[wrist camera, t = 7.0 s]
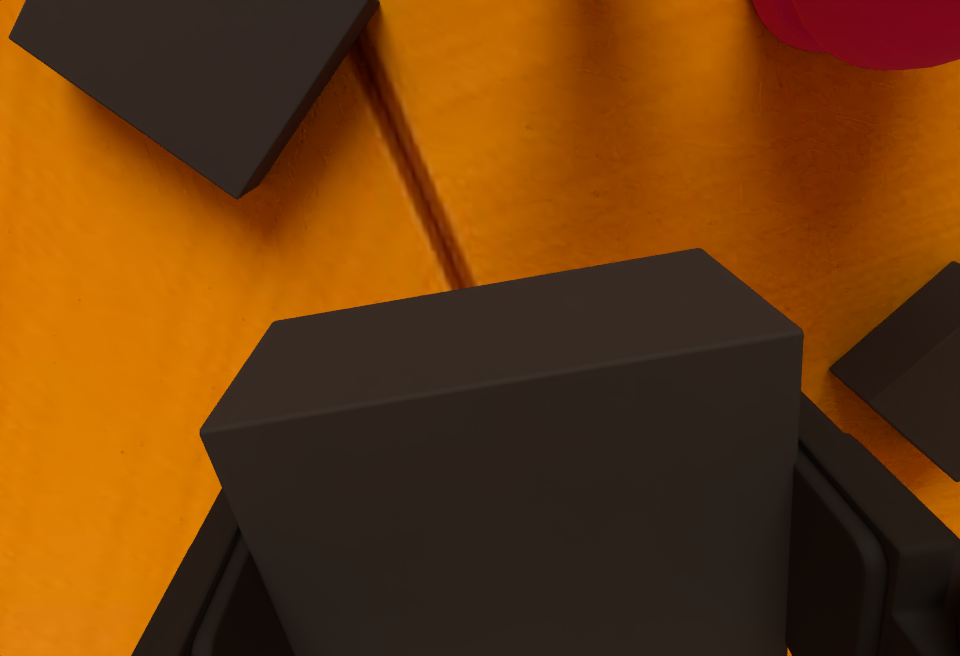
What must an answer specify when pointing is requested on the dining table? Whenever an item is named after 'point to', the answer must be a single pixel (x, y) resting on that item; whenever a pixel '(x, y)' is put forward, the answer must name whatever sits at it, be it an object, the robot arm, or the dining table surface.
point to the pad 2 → (915, 370)
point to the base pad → (200, 69)
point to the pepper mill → (869, 30)
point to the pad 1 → (524, 467)
